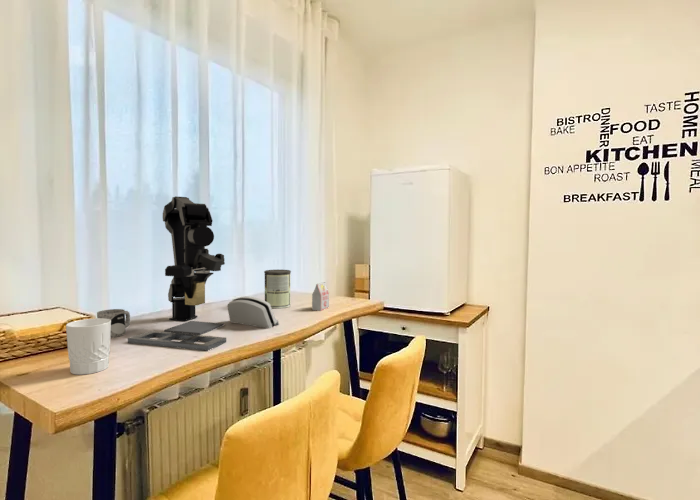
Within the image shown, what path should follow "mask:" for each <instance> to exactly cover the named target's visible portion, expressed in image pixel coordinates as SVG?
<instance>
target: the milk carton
mask: <svg viewBox="0 0 700 500" xmlns="http://www.w3.org/2000/svg"><path fill="white" fill-rule="evenodd" d="M328 307H329V308H330V292H329V289H328V287H327V283H326V282H320V283H316V284H315V288H314V290H313V292H312V295H311V309H312V311H316V310H317V311H318V312H322V311H324V309H325V310H327V309H329V308H328ZM326 308H327V309H326Z"/></svg>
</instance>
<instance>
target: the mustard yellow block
mask: <svg viewBox="0 0 700 500" xmlns="http://www.w3.org/2000/svg"><path fill="white" fill-rule="evenodd" d="M203 304H206V283H205V282H197V281H194V284H193V296H192V298H191V299H190V298H188V297H187V295H186V293H185V305H195V306H200V305H203Z"/></svg>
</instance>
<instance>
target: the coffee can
mask: <svg viewBox="0 0 700 500" xmlns="http://www.w3.org/2000/svg"><path fill="white" fill-rule="evenodd" d="M263 272H264V301H266V302H268V303H269V304H270V305H271V308H272V310H274V309H286V308H290V307H291V272H292V271H291V270H289V269H267V270H264V271H263Z"/></svg>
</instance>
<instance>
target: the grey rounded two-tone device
mask: <svg viewBox="0 0 700 500" xmlns="http://www.w3.org/2000/svg"><path fill="white" fill-rule="evenodd" d="M227 311H228V317H229V321H230V323H232V324H239V325H240V324H241V325H246V326H247V325H248V326H252V327H259V328H266V329H272V328H273V325H274V326H275V325H276V326H280V321H279V319H277V318H276V316H275V315H274V311H273V308H271V305H270V304H269V303H268V302H266V301H265V299H261V298H258V297H254V296H241V297H237V298H235V299H232V300H231V301H229V303H228V304H227Z"/></svg>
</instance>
